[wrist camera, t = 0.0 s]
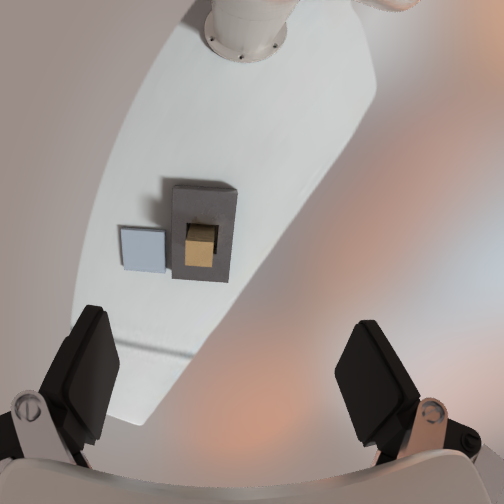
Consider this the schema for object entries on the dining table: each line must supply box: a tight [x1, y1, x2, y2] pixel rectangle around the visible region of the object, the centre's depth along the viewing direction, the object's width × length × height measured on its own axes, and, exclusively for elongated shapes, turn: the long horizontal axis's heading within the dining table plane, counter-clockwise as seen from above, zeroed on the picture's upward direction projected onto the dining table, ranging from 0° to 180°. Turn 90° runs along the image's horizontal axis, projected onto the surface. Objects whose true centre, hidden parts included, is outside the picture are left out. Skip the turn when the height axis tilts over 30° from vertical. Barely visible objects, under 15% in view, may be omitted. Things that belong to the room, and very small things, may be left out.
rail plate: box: [171, 185, 238, 283], centre depth 46 cm, size 16×10×2 cm, turn 173°
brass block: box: [185, 223, 215, 267], centre depth 43 cm, size 4×4×8 cm
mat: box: [121, 228, 166, 273], centre depth 47 cm, size 8×8×1 cm
